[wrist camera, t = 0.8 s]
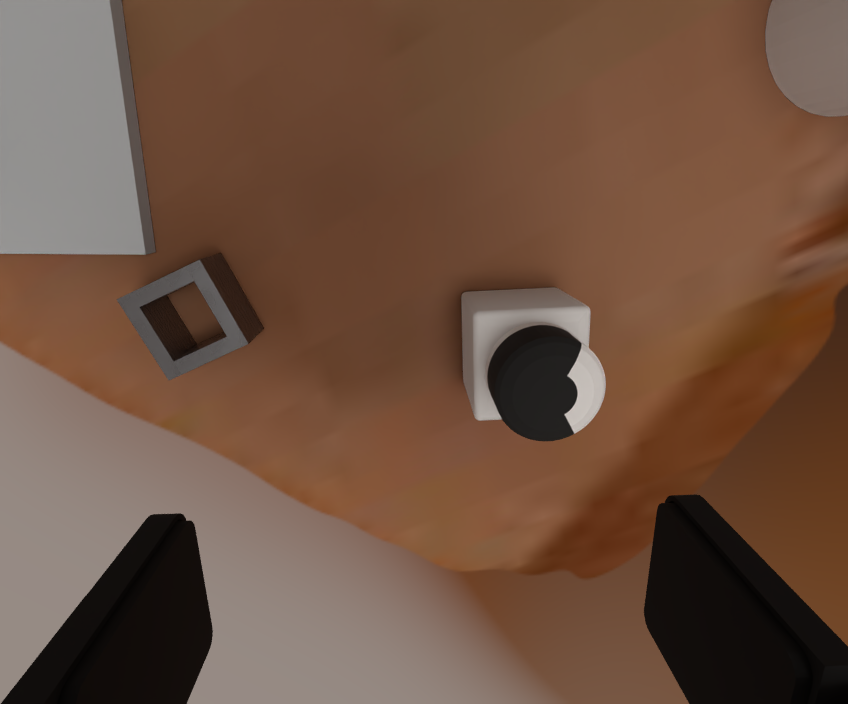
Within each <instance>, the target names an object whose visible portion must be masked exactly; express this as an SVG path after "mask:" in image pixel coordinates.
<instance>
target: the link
mask: <svg viewBox="0 0 848 704" xmlns="http://www.w3.org/2000/svg"><path fill="white" fill-rule="evenodd" d="M194 282H195V283H196V285H197V287H198V288H199V290H200V292H201V293H202V295H203V297H204V298H205V300H206V302H207V303H208V305H209V307H210V309H211V310H212V312H213V314H214V315H215V317H216V319H217V320H218V322H219V324H220V325H221V327H222V329H223V331H224V332H223V333H221V334H219V335H216V336H214V337H212V338H210V339H208V340H206V341H204V342H201V343H199V344H196V343H195V341H194V339H193V338H192V336H191V334H190V333H189V331H188V330H187V328H186V326H185V325H184V323H183V321H182V320H181V318H180V316H179V315H178V313H177V312H176V310H175V308H174V307H173V305H172V303H171V302H170V300H169V299H168V297H167V295H169V294H171V293H173V292H175V291H177V290H179V289H181V288H183V287H186V286H188V285H190V284H192V283H194ZM117 301H118V302H119V304H120V305H121V307H122V309H123V310H124V312H125V313H126V315H127V316H128V318H129V319H130V321H131V323H132V324H133V326H134V327H135V329H136V330H137V332H138V333H139V335H140V337H141V338H142V340H143V341H144V343H145V344H146V346H147V347H148V349H149V350H150V352H151V354H152V355H153V357H154V358H155V360H156V361H157V363H158V364H159V366H160V368H161V369H162V371H163V372H164V374H165V375H166V377H167V378H168V380H171V379H173V378H175V377H177V376H180V375H182V374H184V373H186V372H188V371H190V370H193V369H195V368H197V367H199V366H201V365H203V364H206V363H208V362H210V361H212V360H214V359H217V358H219V357H221V356H223V355H225V354H227V353H230V352H232V351H234V350H236V349H238V348H240V347H243V346H245V345H247V344H249V343H250V342H251V341H252V340H253V339H254V338H255V337H256V336H257V335H258V334H259V333H260V332H261V331H262V330H263V329H264V328H263V326H262V324H261V322H260V321H259V319H258V317H257V315H256V314H255V312H254V310H253V308H252V306H251V305H250V303H249V301H248V299H247V298H246V296H245V294H244V292H243V291H242V289H241V287H240V285H239V283H238V282H237V280H236V278H235V276H234V275H233V273H232V271H231V269H230V268H229V266H228V264H227V262H226V261H225V259H224V257H223V255H222V253H219V254H216V255H213V256H210V257H206V258H203V259H200V260H198V261H196V262H194V263H192V264H190V265H187V266H185V267H183V268H181V269H179V270H177V271H175V272H173V273H171V274H169V275H167V276H165V277H163V278H160V279H158V280H156V281H154V282H152V283H150V284H148V285H146V286H144V287H142V288H140V289H138V290H136V291H133V292H131V293H129V294H127V295H125V296H123V297H121V298H119V299H117Z"/></svg>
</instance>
